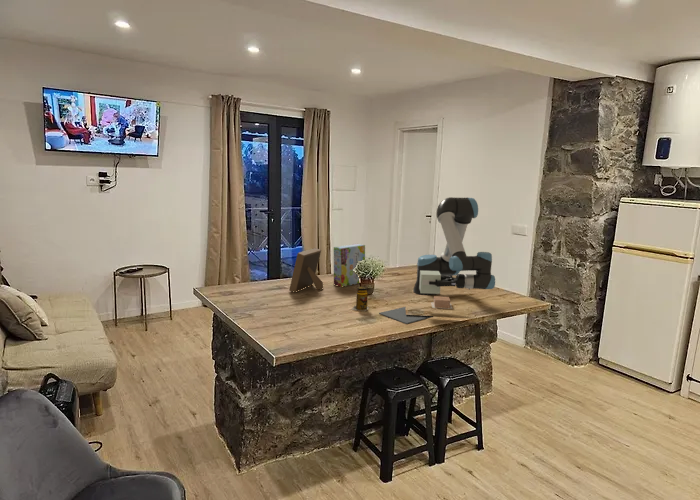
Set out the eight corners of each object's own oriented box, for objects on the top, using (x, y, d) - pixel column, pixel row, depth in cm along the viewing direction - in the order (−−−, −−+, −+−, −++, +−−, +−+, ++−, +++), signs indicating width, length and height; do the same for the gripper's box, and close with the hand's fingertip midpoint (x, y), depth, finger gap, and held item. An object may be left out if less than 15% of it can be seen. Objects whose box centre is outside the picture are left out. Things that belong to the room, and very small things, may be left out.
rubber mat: (378, 313, 244) (379, 312, 244) (405, 307, 256) (405, 306, 256) (406, 324, 229) (406, 322, 228) (433, 316, 241) (433, 315, 241)
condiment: (365, 311, 248) (366, 289, 246) (350, 309, 250) (351, 288, 248) (369, 307, 255) (370, 286, 253) (354, 306, 257) (355, 285, 255)
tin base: (432, 310, 252) (432, 300, 251) (430, 304, 263) (431, 295, 262) (452, 311, 251) (453, 301, 250) (450, 305, 262) (451, 296, 261)
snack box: (356, 280, 318) (357, 243, 313) (365, 282, 311) (366, 244, 307) (332, 285, 303) (333, 246, 299) (341, 287, 297) (342, 248, 292)
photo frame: (289, 292, 283) (289, 251, 278) (307, 284, 302) (307, 246, 298) (310, 295, 277) (311, 254, 272) (327, 287, 296) (328, 249, 292)
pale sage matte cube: (420, 293, 241) (421, 274, 240) (419, 288, 251) (420, 270, 250) (439, 293, 241) (440, 275, 239) (437, 289, 250) (438, 271, 249)
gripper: (467, 293, 233) (423, 292, 235) (460, 283, 255) (419, 281, 257) (468, 279, 232) (423, 277, 233) (461, 269, 254) (420, 268, 256)
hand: (421, 279), depth 245 cm, fingers closed on pale sage matte cube, 10 cm apart
